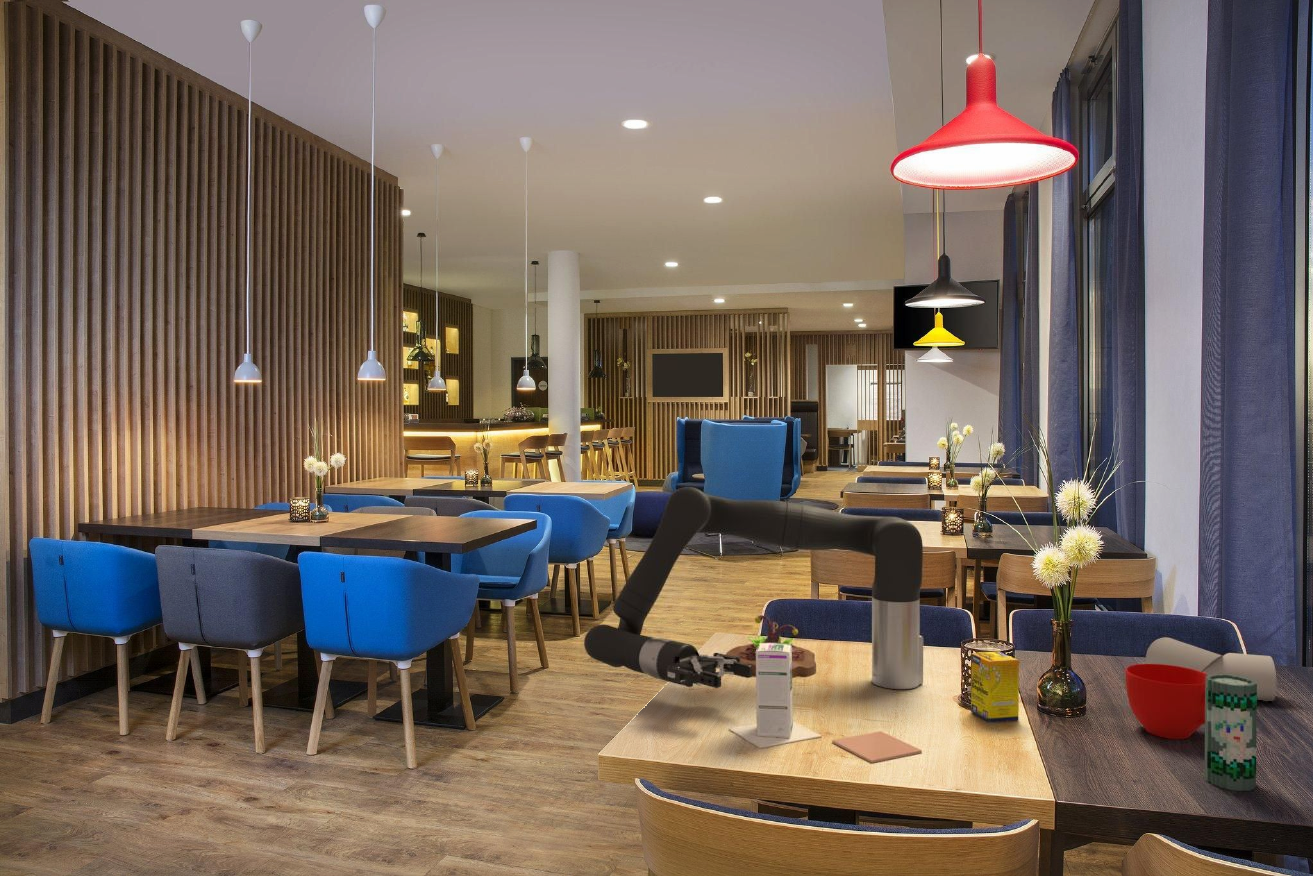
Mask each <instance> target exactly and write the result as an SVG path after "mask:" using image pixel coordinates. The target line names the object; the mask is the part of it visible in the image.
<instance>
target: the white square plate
mask: <svg viewBox="0 0 1313 876" xmlns="http://www.w3.org/2000/svg"><path fill="white" fill-rule="evenodd" d="M728 730H729V731H731V733H734V734H736V735H737V736H739V737H740V738H742V739H744V740H745V741H747V742H749V743H751V744H752V745H753V746H756V747H757V748H759V749H764V748H770V747H775V746H780V745H785V744H791V743H796V742H803V741H808V740H813V739H818V738H822V735H821V734H819V733H817V732H815V731H813V730H811V729H809V728H808V727H806V726H803V725H801V724H800V723H798V722H796V721H794V720H793V729H792V733H791V736H790V738H778V737H765V736H758V735H757V723H754V724H747V725H742V726H741V725H740V726H736V727H735V726H734V727H730V728H728Z"/></svg>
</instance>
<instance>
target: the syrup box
mask: <svg viewBox="0 0 1313 876" xmlns="http://www.w3.org/2000/svg"><path fill="white" fill-rule="evenodd" d="M790 644H791V643H789V644H783V642H781V643H760V644H759V646H758V648H757V650H756V676H755V682H756V683H755V690H756V691H755V693H756V694H755V697H756V724H757V735H758V736H765V737H778V738H790V736H791V733H792V729H793V721H794V717H793V716H794V712H793V711H794V710H793V708H794V706H793V705H794V704H793V702H794V701H793V678H792V647H791V645H790Z"/></svg>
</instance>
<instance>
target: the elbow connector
mask: <svg viewBox="0 0 1313 876" xmlns="http://www.w3.org/2000/svg"><path fill="white" fill-rule="evenodd" d="M1145 664H1164V665H1173V666H1179V667H1185V668H1190V669H1194V670H1197V671H1200V672H1203V673H1206V674H1208V675H1213V674H1225V675H1234V676H1241V677H1245V678H1249V679H1250V680H1254V681H1255V682H1256V683H1257V700H1263V701H1262V702H1268V701H1273V702H1274V700H1275V699H1276V694H1277V674H1276V673H1277V672H1276V667H1275V663H1274V659H1273V658H1272V656H1271V655H1260V654H1259V655H1258V654H1247V653H1237V652H1236V653H1234V652H1228V653H1225V654H1224V655H1222V654H1219V653H1215V652H1212V651H1210V650H1208V649H1207V650H1206V649H1203V648H1200V647H1198V646H1195V645H1192V644H1189V643H1186V642H1182V641H1179V640H1177V639H1175V638H1171V637H1166V636H1165V637H1161V638H1157V639H1155V640H1154V641H1153V642H1151V644H1150V645H1149V646H1148V648H1147V651H1146V655H1145Z"/></svg>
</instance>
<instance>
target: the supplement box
mask: <svg viewBox="0 0 1313 876" xmlns="http://www.w3.org/2000/svg"><path fill="white" fill-rule="evenodd" d="M970 655H971V656H970V657H971V666H970V667H971V669H970V670H971V671H970V672H971V676H970V677H971V688H970V689H971V691H970V692H971V694H970V696H971V697H970V698H971V699H970V701H971V702H970V703H971V705H970V707H971V709H970V711H971V713H972V714H974V715H976V716H978V717H980V718H981V719H983V720H985V721H986V722H987V723H990V724H992V723H1004V722H1013V721H1015V722H1016V721H1019V709H1020V708H1019V706H1020V705H1019V704H1020V701H1019V695H1020V693H1019V691H1020V688H1019V687H1020V683H1019V682H1020V674H1019V673H1020V660H1019V659H1017V658H1014V657H1012V656H1010V655H1007V654H1005V653H1003V652H1002V651H999V650H998V651H985V652H984V651H983V652H973V653H971V654H970Z"/></svg>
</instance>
